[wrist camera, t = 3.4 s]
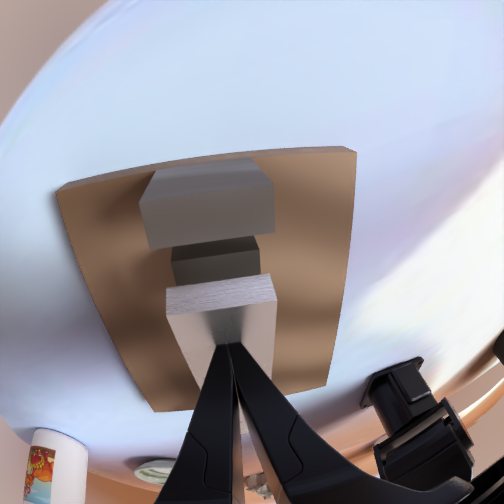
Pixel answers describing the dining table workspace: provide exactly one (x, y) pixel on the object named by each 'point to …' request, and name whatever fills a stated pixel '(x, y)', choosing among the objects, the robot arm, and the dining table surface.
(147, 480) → the saucer
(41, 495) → the milk bottle
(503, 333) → the mug
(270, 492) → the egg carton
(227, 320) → the bar
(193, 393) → the base
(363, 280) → the dining table surface
